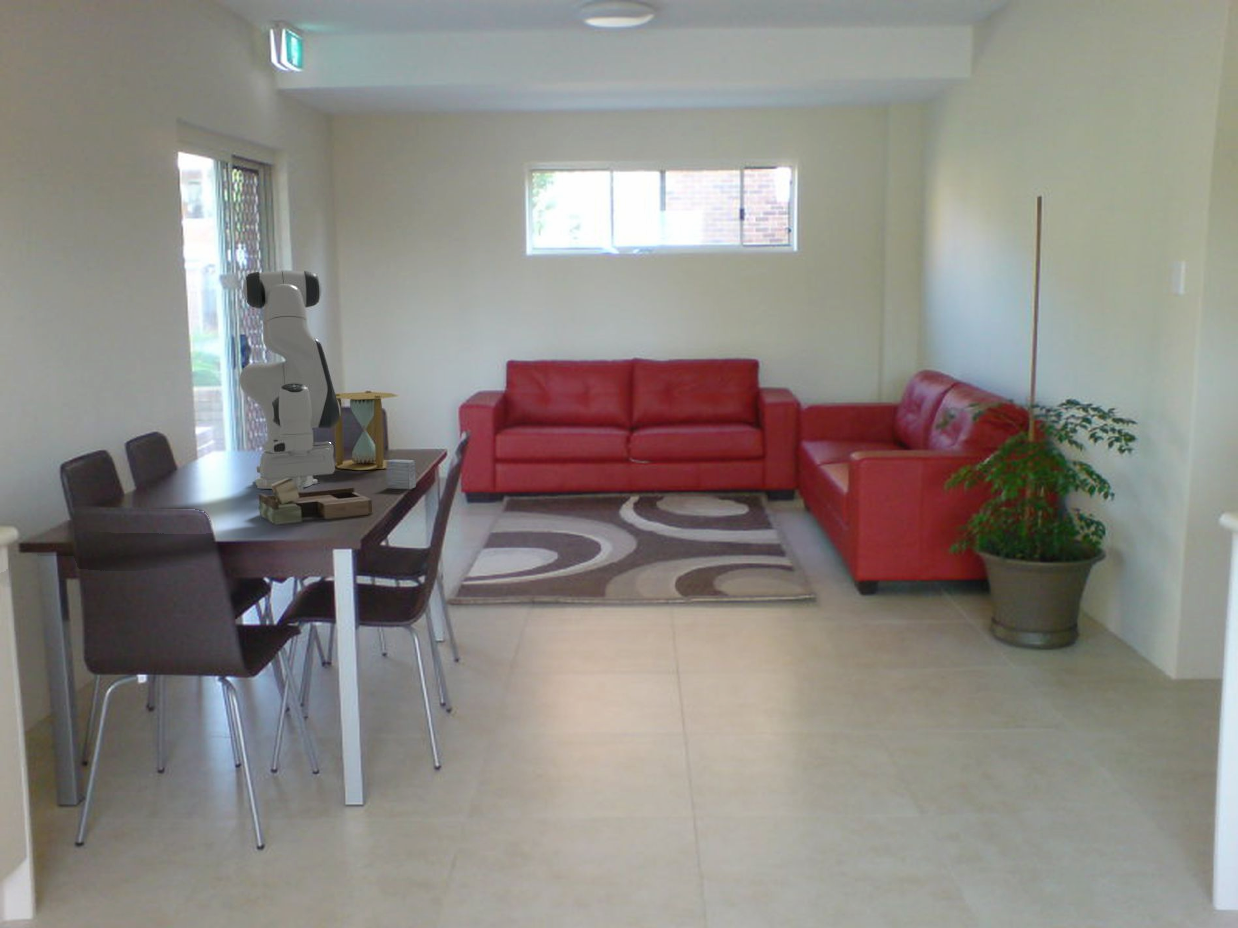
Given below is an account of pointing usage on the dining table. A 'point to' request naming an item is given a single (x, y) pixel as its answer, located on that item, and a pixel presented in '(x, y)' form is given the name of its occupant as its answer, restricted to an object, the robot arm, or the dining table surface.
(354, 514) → the board
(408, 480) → the medicine box
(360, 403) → the hourglass
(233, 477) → the dining table surface
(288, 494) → the maple block
